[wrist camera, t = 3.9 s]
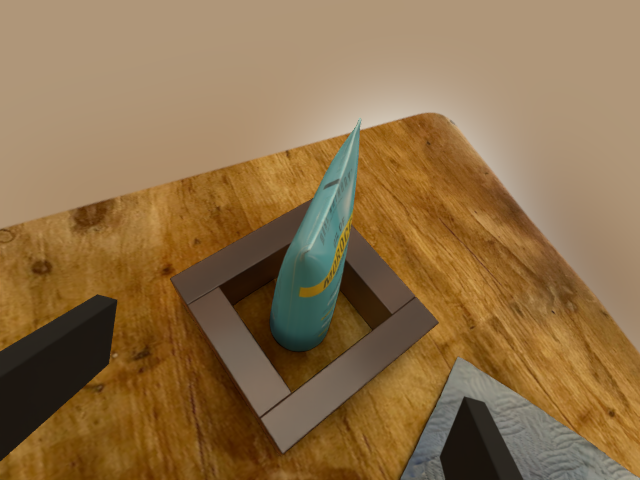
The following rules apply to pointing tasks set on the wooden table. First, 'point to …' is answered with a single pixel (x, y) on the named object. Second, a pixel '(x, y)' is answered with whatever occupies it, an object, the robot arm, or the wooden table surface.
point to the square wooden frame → (249, 359)
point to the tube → (317, 257)
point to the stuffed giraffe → (511, 434)
